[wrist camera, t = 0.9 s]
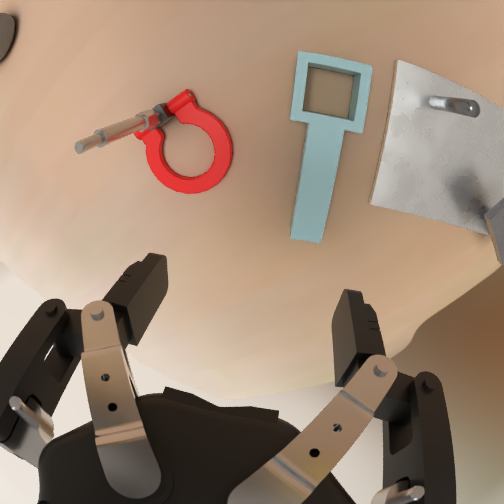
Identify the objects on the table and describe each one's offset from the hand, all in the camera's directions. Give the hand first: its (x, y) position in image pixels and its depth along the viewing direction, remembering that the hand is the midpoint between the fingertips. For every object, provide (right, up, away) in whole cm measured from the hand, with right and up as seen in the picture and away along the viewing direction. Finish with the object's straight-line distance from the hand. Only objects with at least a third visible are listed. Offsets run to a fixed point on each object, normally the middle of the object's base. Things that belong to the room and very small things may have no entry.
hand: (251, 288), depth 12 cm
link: (+6, +11, +13) cm, 18 cm away
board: (+21, +12, +10) cm, 26 cm away
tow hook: (-6, +12, +15) cm, 20 cm away
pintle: (+17, +16, +8) cm, 25 cm away
